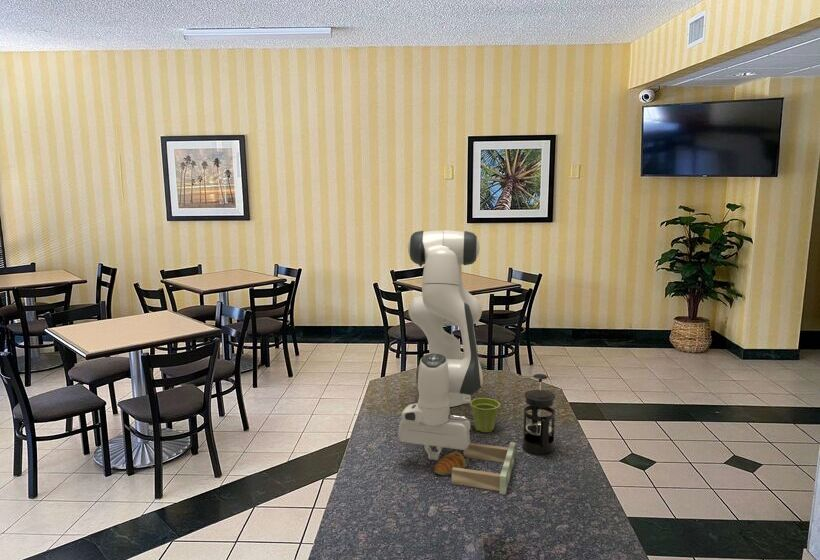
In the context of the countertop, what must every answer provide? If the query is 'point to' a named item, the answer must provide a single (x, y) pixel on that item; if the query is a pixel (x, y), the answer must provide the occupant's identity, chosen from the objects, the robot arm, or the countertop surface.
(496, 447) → the wooden wall rack
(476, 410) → the plant pot
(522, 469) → the countertop surface
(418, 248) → the robot arm
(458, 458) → the pastry
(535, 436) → the french press
